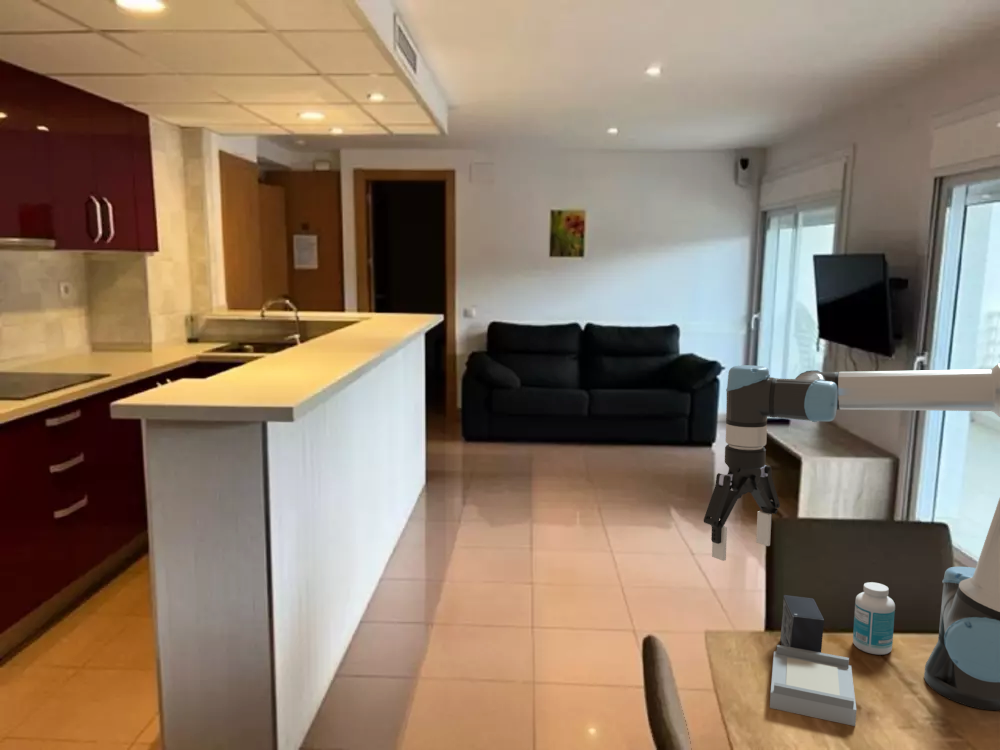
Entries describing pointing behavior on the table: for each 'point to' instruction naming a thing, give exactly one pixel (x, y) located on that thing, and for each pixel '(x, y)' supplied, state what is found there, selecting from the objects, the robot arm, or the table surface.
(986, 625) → the robot arm
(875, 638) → the pill bottle
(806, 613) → the small box
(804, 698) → the dock
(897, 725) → the table surface
